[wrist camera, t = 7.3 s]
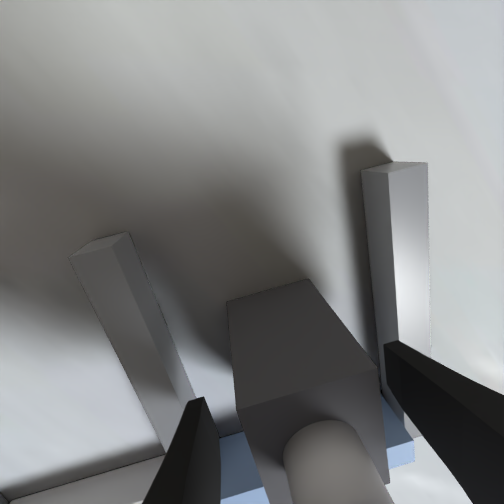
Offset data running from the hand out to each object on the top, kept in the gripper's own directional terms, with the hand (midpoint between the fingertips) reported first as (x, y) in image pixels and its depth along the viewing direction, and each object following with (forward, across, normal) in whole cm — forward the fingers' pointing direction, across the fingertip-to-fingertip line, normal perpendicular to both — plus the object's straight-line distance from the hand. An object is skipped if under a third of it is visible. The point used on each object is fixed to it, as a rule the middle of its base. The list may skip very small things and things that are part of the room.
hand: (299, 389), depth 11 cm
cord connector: (+3, 0, 0) cm, 4 cm away
